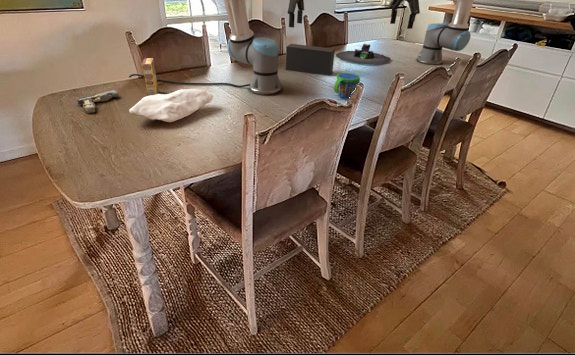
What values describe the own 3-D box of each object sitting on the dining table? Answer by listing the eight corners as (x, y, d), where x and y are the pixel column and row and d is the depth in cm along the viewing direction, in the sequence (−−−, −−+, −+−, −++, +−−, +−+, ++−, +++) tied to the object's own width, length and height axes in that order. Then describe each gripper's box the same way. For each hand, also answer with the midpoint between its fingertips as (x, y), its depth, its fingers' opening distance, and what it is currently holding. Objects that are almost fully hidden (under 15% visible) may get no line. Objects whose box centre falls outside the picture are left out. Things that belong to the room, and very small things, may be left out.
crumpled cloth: (117, 110, 146) (113, 90, 140) (195, 92, 166) (194, 73, 160) (143, 139, 134) (140, 118, 128) (223, 116, 154) (224, 96, 148)
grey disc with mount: (401, 60, 233) (403, 45, 228) (362, 67, 215) (363, 51, 211) (362, 51, 258) (364, 38, 253) (324, 57, 240) (325, 42, 236)
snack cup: (350, 91, 181) (353, 70, 175) (365, 97, 173) (368, 76, 168) (326, 96, 173) (328, 75, 168) (340, 103, 166) (343, 81, 160)
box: (285, 69, 208) (286, 46, 201) (290, 66, 215) (291, 43, 208) (329, 75, 202) (331, 51, 195) (332, 72, 208) (334, 48, 201)
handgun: (128, 97, 156) (111, 87, 164) (86, 107, 144) (70, 97, 152) (129, 103, 157) (113, 94, 165) (88, 114, 146) (72, 103, 154)
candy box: (157, 97, 164) (152, 63, 155) (147, 98, 163) (141, 63, 155) (158, 91, 171) (153, 57, 163) (149, 91, 170) (143, 58, 162)
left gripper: (296, -17, 176) (294, 29, 187) (311, -20, 195) (308, 22, 207) (282, -18, 178) (281, 28, 189) (298, -21, 197) (296, 21, 209)
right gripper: (434, -18, 169) (423, 30, 180) (399, -23, 188) (391, 21, 199) (421, -19, 166) (411, 31, 177) (387, -23, 185) (380, 22, 196)
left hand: (295, 25), depth 198 cm, fingers open, 13 cm apart
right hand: (400, 26), depth 188 cm, fingers open, 13 cm apart
